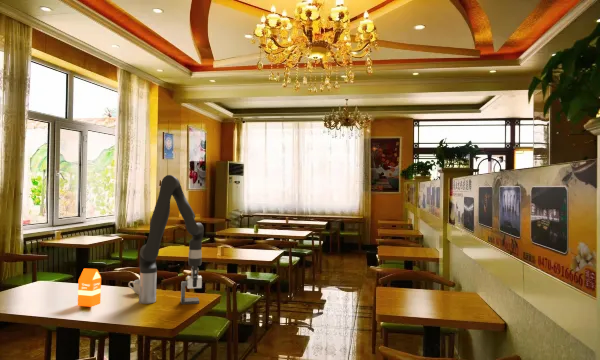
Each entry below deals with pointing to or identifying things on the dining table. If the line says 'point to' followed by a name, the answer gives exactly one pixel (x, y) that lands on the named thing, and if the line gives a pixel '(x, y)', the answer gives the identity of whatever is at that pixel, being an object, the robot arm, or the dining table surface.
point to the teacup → (135, 285)
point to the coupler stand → (183, 299)
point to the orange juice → (89, 288)
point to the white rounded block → (190, 282)
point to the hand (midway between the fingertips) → (194, 285)
